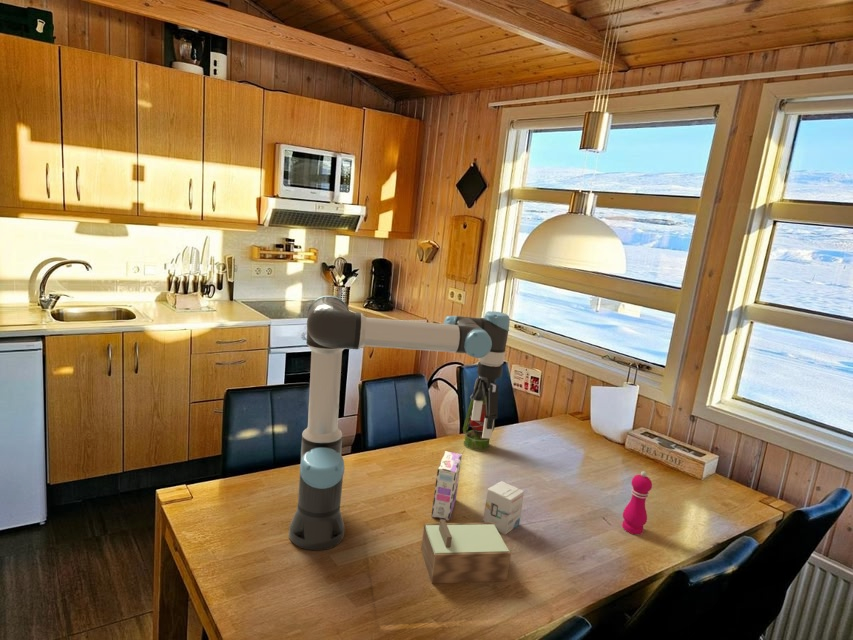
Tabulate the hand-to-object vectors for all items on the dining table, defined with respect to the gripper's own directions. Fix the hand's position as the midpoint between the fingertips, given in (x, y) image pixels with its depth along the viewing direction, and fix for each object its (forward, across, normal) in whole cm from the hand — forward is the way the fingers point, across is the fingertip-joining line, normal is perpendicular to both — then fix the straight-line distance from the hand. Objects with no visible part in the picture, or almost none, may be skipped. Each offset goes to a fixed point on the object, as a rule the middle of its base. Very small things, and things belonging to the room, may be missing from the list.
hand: (480, 428), depth 174 cm
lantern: (+28, +48, -15) cm, 58 cm away
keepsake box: (+28, -29, +9) cm, 41 cm away
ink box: (+28, -8, -8) cm, 30 cm away
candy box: (+28, 0, +8) cm, 29 cm away
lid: (+20, -29, +9) cm, 36 cm away
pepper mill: (+28, -10, -52) cm, 59 cm away
